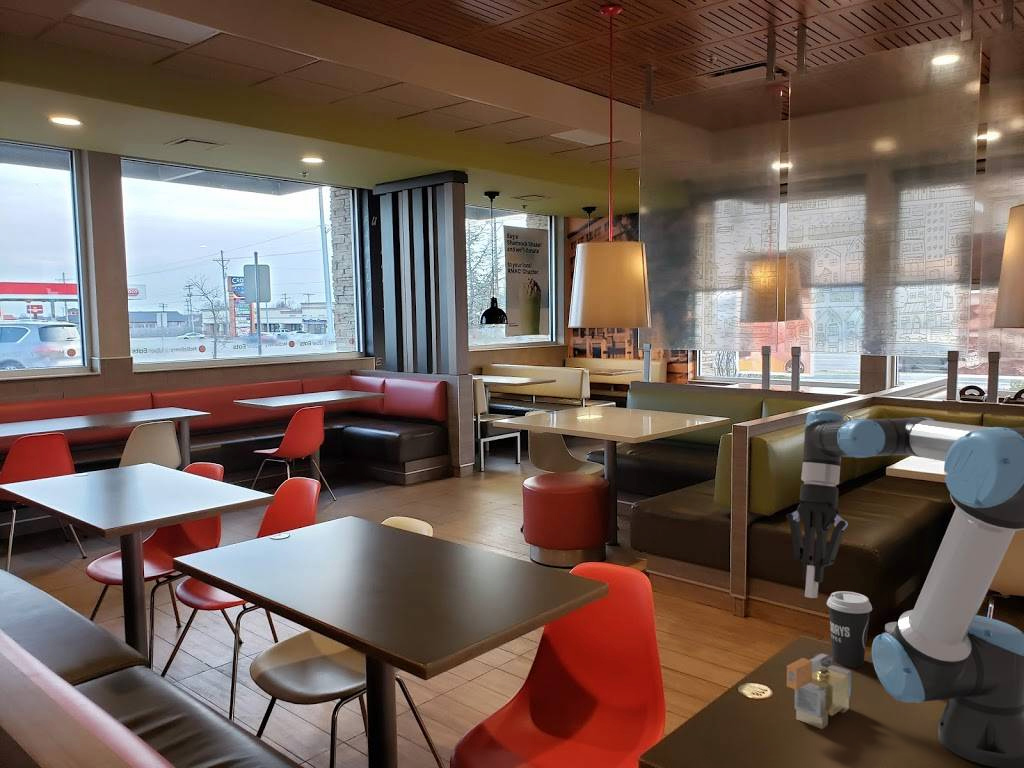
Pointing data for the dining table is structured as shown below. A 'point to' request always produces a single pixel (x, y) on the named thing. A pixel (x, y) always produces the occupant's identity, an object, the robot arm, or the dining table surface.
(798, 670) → the lever
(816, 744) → the dining table surface
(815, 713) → the valve body
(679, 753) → the dining table surface
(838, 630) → the coffee cup
